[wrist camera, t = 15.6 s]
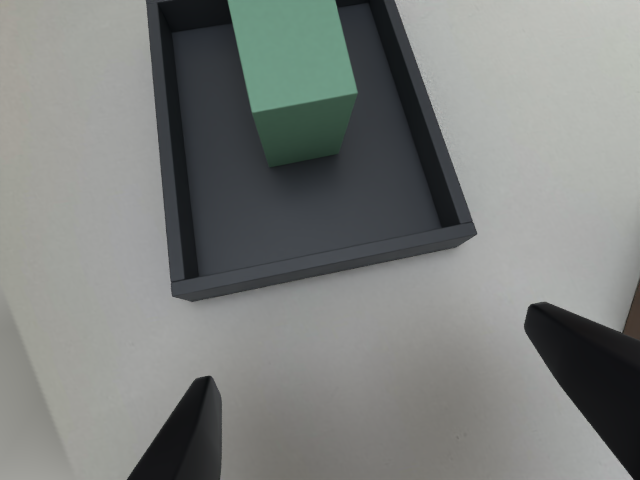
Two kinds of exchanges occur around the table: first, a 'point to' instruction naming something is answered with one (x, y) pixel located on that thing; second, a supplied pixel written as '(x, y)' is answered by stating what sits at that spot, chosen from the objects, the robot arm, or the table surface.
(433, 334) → the table surface
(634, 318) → the block
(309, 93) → the green rectangular block
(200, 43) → the dark grey tray
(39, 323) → the table surface
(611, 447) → the robot arm
